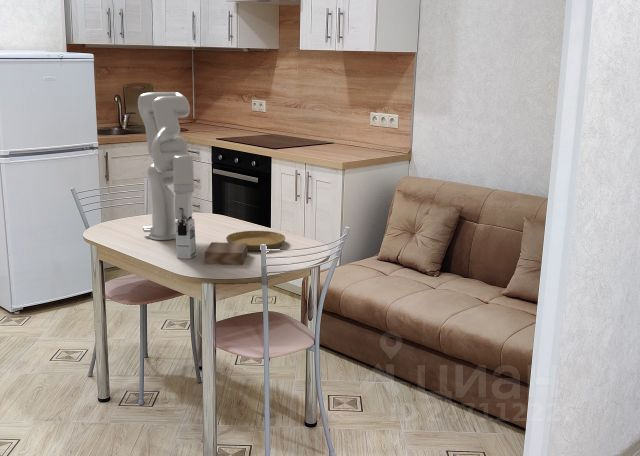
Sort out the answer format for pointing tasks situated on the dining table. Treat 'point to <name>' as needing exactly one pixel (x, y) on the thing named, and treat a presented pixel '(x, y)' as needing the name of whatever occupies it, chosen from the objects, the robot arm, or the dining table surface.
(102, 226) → the dining table surface
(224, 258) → the walnut block
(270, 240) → the plant saucer
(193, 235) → the syrup box
